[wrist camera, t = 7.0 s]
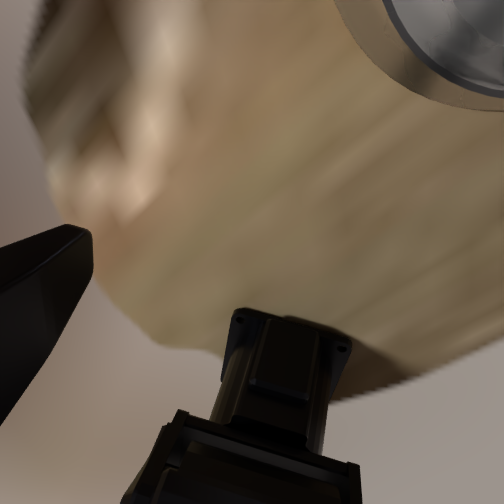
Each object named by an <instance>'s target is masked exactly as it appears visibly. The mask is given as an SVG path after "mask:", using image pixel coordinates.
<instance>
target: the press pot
mask: <svg viewBox="0 0 504 504" xmlns="http://www.w3.org/2000/svg"><path fill="white" fill-rule="evenodd" d="M335 3H336V5H337V8H338V10H339V12H340V14H341V16H342V18H343V20H344V23H345V25H346V26H347V28H348V30H349V31H350V33H351V34H352V36H353V37H354V39H355V40H356V42H357V44H358V45H359V46H360V48H361V49H362V50H363V51H364V52H365V53H366V54H367V56H368V57H369V58H370V59H371V60H372V61H373V63H374V64H376V65H377V66H378V67H379V68H380V69H381V70H382V71H384V72H385V73H386V74H387V75H388V76H389V77H390V78H392V79H393V80H395V81H397V82H398V83H400V84H401V85H403V86H404V87H406V88H407V89H409V90H411V91H413V92H415V93H417V94H420V95H422V96H424V97H426V98H428V99H431V100H434V101H437V102H441V103H444V104H447V105H450V106H455V107H461V108H467V109H473V110H492V111H504V46H502V45H500V44H498V43H496V42H494V41H491V40H490V39H488V38H487V37H485V36H484V35H482V34H481V33H479V32H478V31H477V30H476V29H475V28H474V27H473V26H471V25H470V24H469V23H468V22H467V21H466V20H465V19H464V17H463V16H462V15H461V13H460V12H459V11H458V9H457V8H456V7H455V5H454V3H453V1H452V0H335Z"/></svg>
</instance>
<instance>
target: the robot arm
mask: <svg viewBox="0 0 504 504" xmlns="http://www.w3.org/2000/svg"><path fill="white" fill-rule="evenodd" d="M93 269H94V263H93V239H92V234H91V232H90V231H89V230H87V229H85V228H81V227H78V226H75V225H71V224H64V225H61V226H58V227H55V228H53V229H50V230H47V231H45V232H42V233H39V234H36V235H33V236H31V237H28V238H25V239H23V240H20V241H17V242H14V243H12V244H9V245H6V246H4V247H1V248H0V426H1V424H2V423H3V422H4V420H5V419H6V417H7V416H8V414H9V413H10V412H11V410H12V408H13V407H14V406H15V404H16V403H17V401H18V400H19V399H20V397H21V396H22V394H23V393H24V391H25V390H26V389H27V387H28V386H29V384H30V383H31V381H32V380H33V379H34V377H35V376H36V374H37V373H38V371H39V370H40V368H41V367H42V366H43V364H44V363H45V361H46V359H47V358H48V356H49V355H50V353H51V352H52V350H53V348H54V346H55V345H56V343H57V341H58V339H59V337H60V336H61V334H62V332H63V330H64V328H65V326H66V324H67V323H68V321H69V319H70V317H71V315H72V313H73V311H74V310H75V308H76V306H77V304H78V302H79V300H80V298H81V297H82V295H83V293H84V291H85V289H86V287H87V285H88V284H89V282H90V280H91V277H92V274H93ZM240 317H242V318H240ZM243 318H244V319H243ZM342 346H345V347H342ZM351 351H352V342H351V340H349V339H348V338H346V337H343V336H339V335H336V334H332V333H328V332H325V331H321V330H318V329H314V328H311V327H307V326H303V325H300V324H296V323H293V322H289V321H286V320H282V319H278V318H275V317H271V316H268V315H264V314H261V313H257V312H254V311H250V310H246V309H242V308H239V309H236V310H234V312H233V315H232V318H231V323H230V329H229V334H228V340H227V345H226V351H225V356H224V362H223V368H222V373H221V382H222V384H221V387H220V390H219V393H218V396H217V399H216V402H215V404H214V407H213V410H212V413H211V416H210V419H209V420H206V419H203V418H199V417H196V416H193V415H190V414H189V412H186V411H184V410H180V409H178V410H177V412H176V414H175V417H174V418H173V421H172V422H171V423H169V422H168V423H167V425H165V426H162V428H161V431H160V433H159V435H158V438H157V440H156V442H155V445H154V447H153V449H152V451H151V453H150V456H149V457H148V459H147V461H146V462H145V464H144V465H143V467H142V468H141V470H140V471H139V473H138V474H137V476H136V478H135V479H134V481H133V482H132V483H131V485H130V486H129V488H128V489H127V491H126V492H125V494H124V495H123V497H122V499H121V502H120V504H362V491H361V477H360V466H359V465H358V464H355V463H351V462H347V463H344V462H341V461H338V460H335V459H331V458H328V457H325V456H322V451H323V443H324V434H325V426H326V419H327V411H328V403H329V401H330V398H331V396H332V394H333V392H334V389H335V387H336V385H337V383H338V380H339V378H340V376H341V374H342V372H343V369H344V367H345V365H346V363H347V360H348V358H349V356H350V354H351Z"/></svg>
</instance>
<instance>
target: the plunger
mask: <svg viewBox="0 0 504 504" xmlns="http://www.w3.org/2000/svg"><path fill="white" fill-rule="evenodd" d="M452 1H453V3H454V5H455V7H456V8H457V9H458V11H459V12H460V13H461V15H462V16H463V17H464V19H465V20H466V21H467V22H468V23H469V24H470V25H471V26H473V27H474V28H475V29H476V30H477V31H478V32H479V33H481V34H482V35H484V36H485V37H487V38H488V39H490V40H491V41H494V42H496V43H498V44H500V45H502V46H504V0H452Z"/></svg>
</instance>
